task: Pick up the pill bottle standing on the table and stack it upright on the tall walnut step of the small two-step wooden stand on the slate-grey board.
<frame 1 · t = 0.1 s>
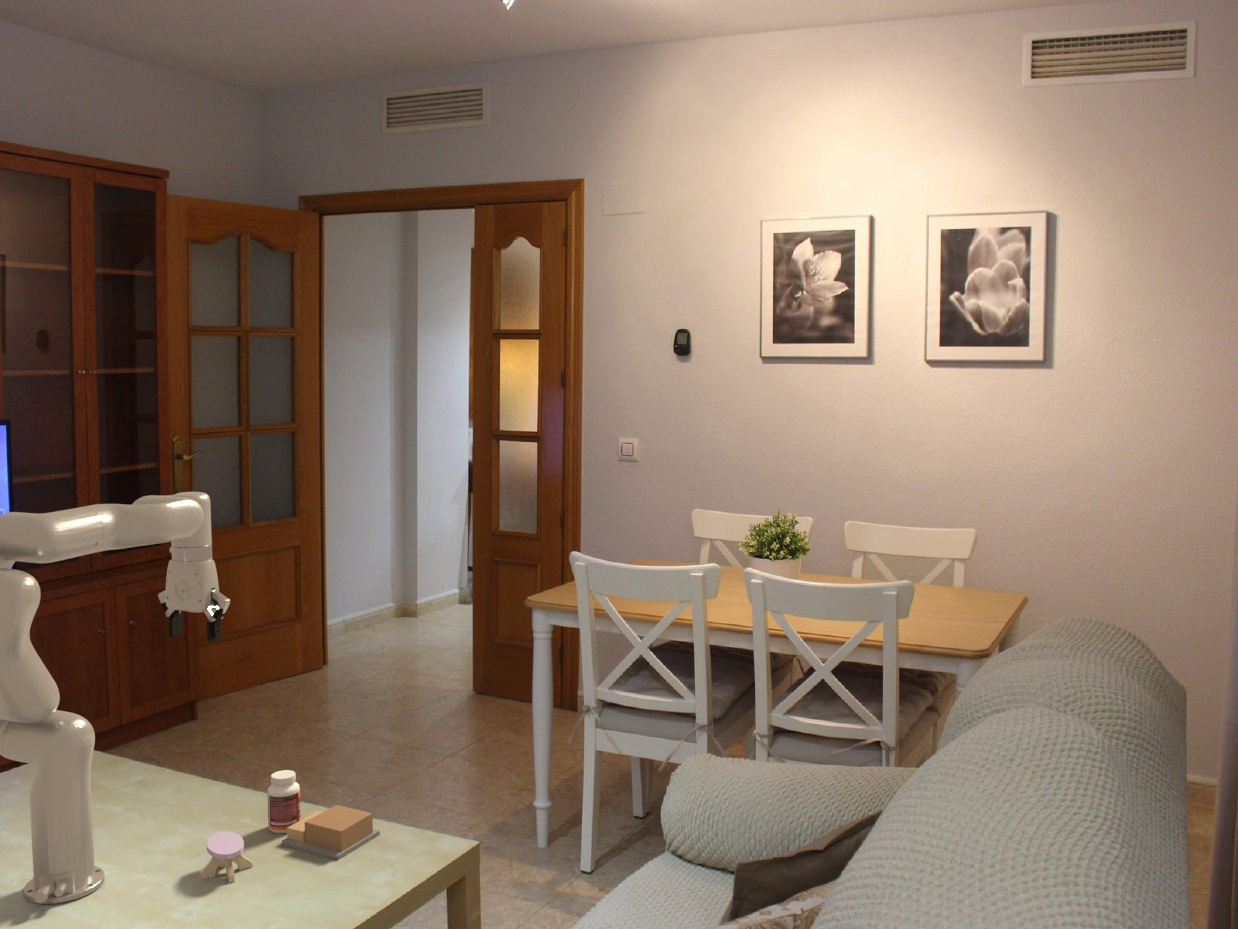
hand: (195, 637, 214), 37 cm above the table, tool pointing down, fingers open, 9 cm apart
pill bottle: (284, 828, 211), on the table
stand: (315, 835, 208), on the table
toy table: (226, 873, 193), on the table
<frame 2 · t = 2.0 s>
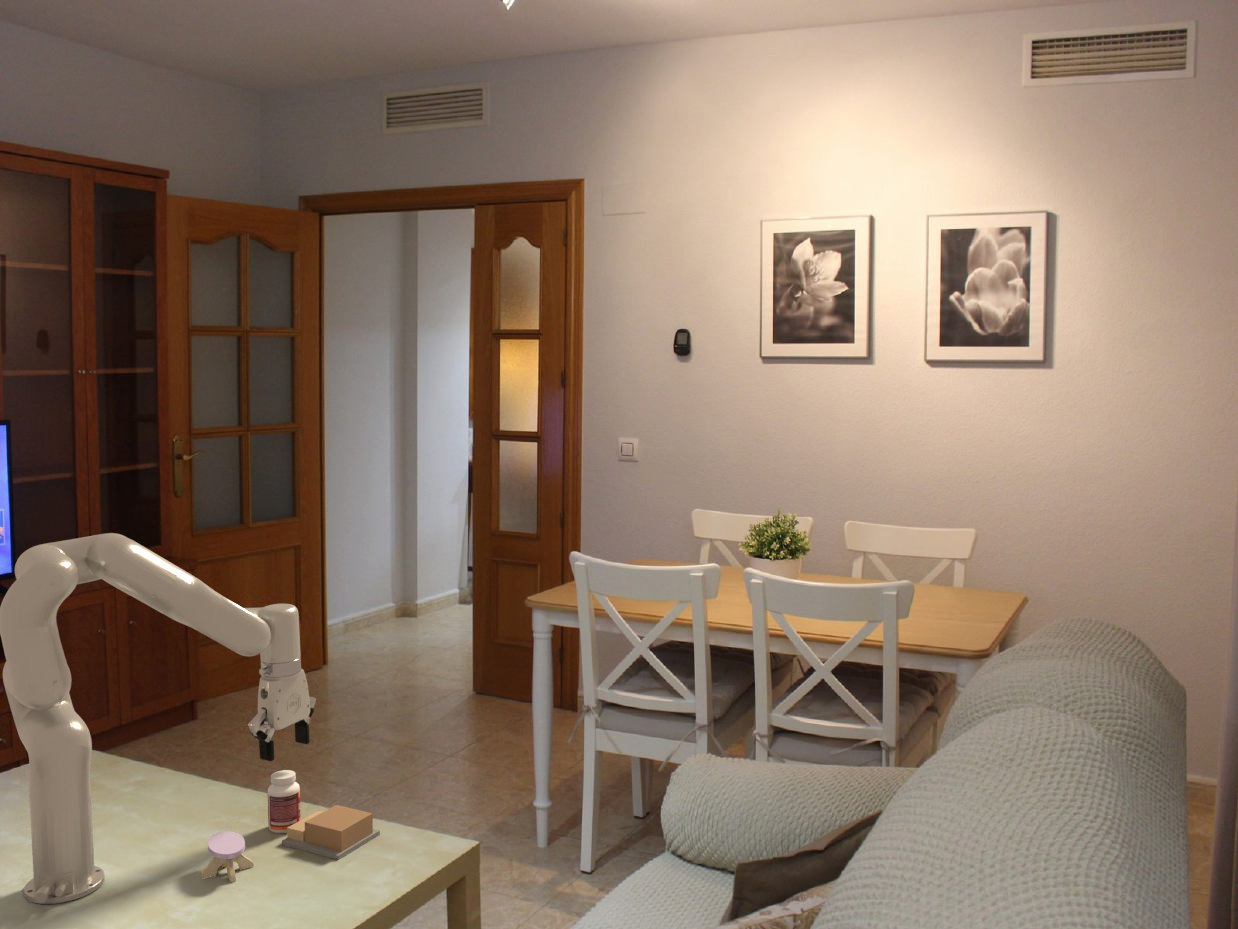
hand: (285, 751, 210), 16 cm above the table, tool pointing down, fingers open, 9 cm apart
nothing on the table moved.
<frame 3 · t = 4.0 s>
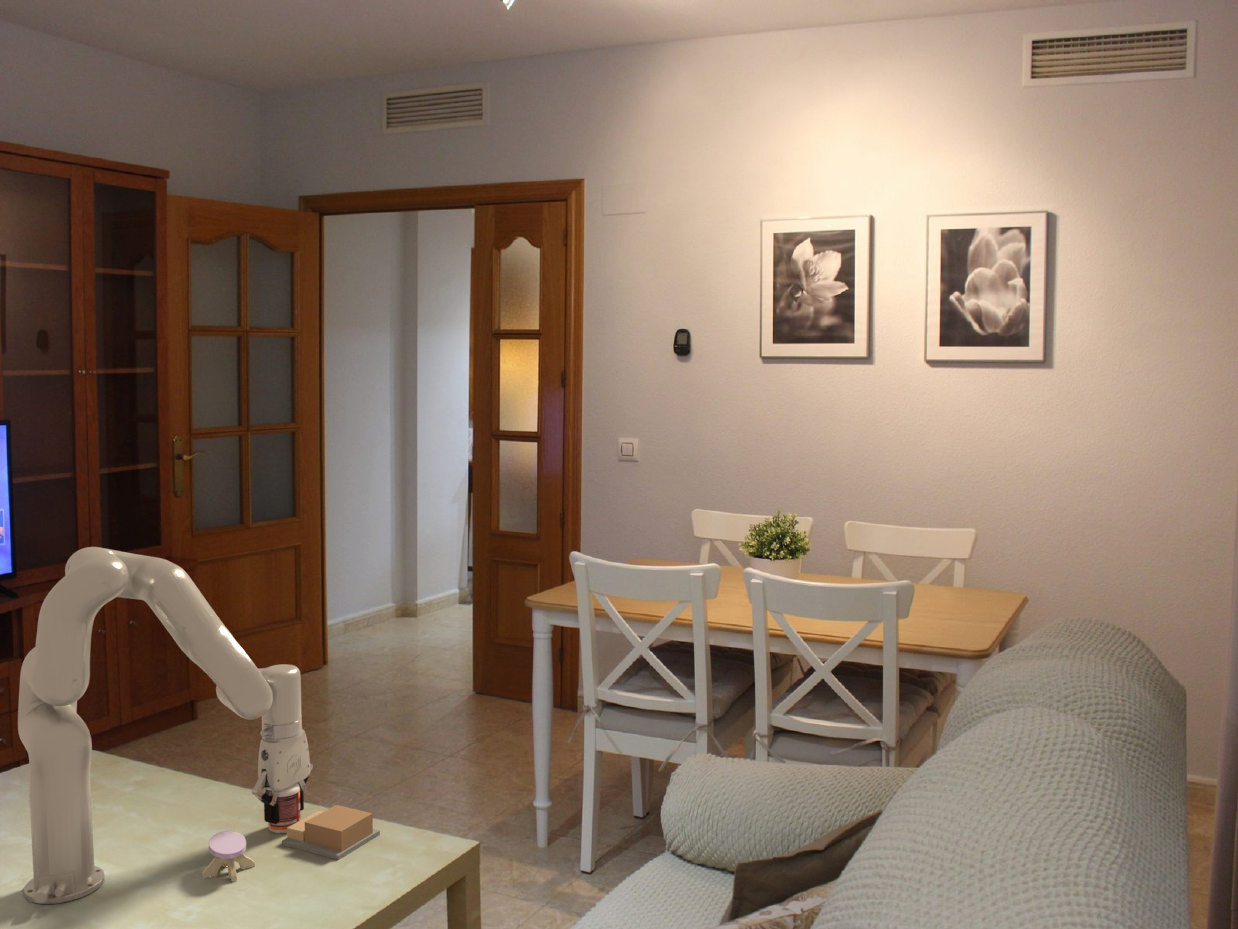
hand: (284, 815, 211), 3 cm above the table, tool pointing down, fingers closed on pill bottle, 6 cm apart
pill bottle: (284, 828, 211), on the table, touching gripper
everything else where it was.
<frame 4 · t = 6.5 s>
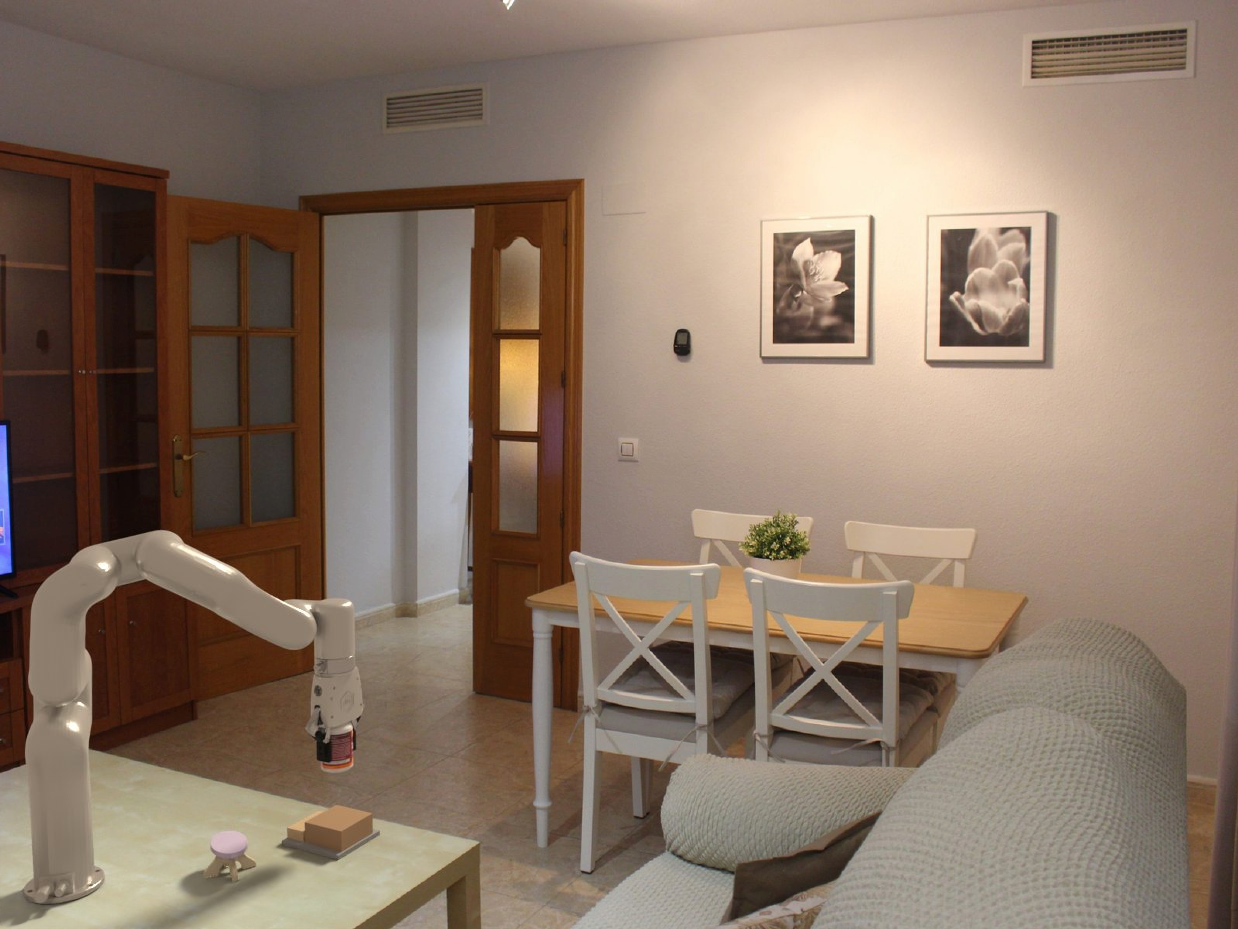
hand: (336, 754, 204), 17 cm above the table, tool pointing down, fingers closed on pill bottle, 6 cm apart
pill bottle: (337, 768, 204), point 15 cm above the table, touching gripper
everything else where it was.
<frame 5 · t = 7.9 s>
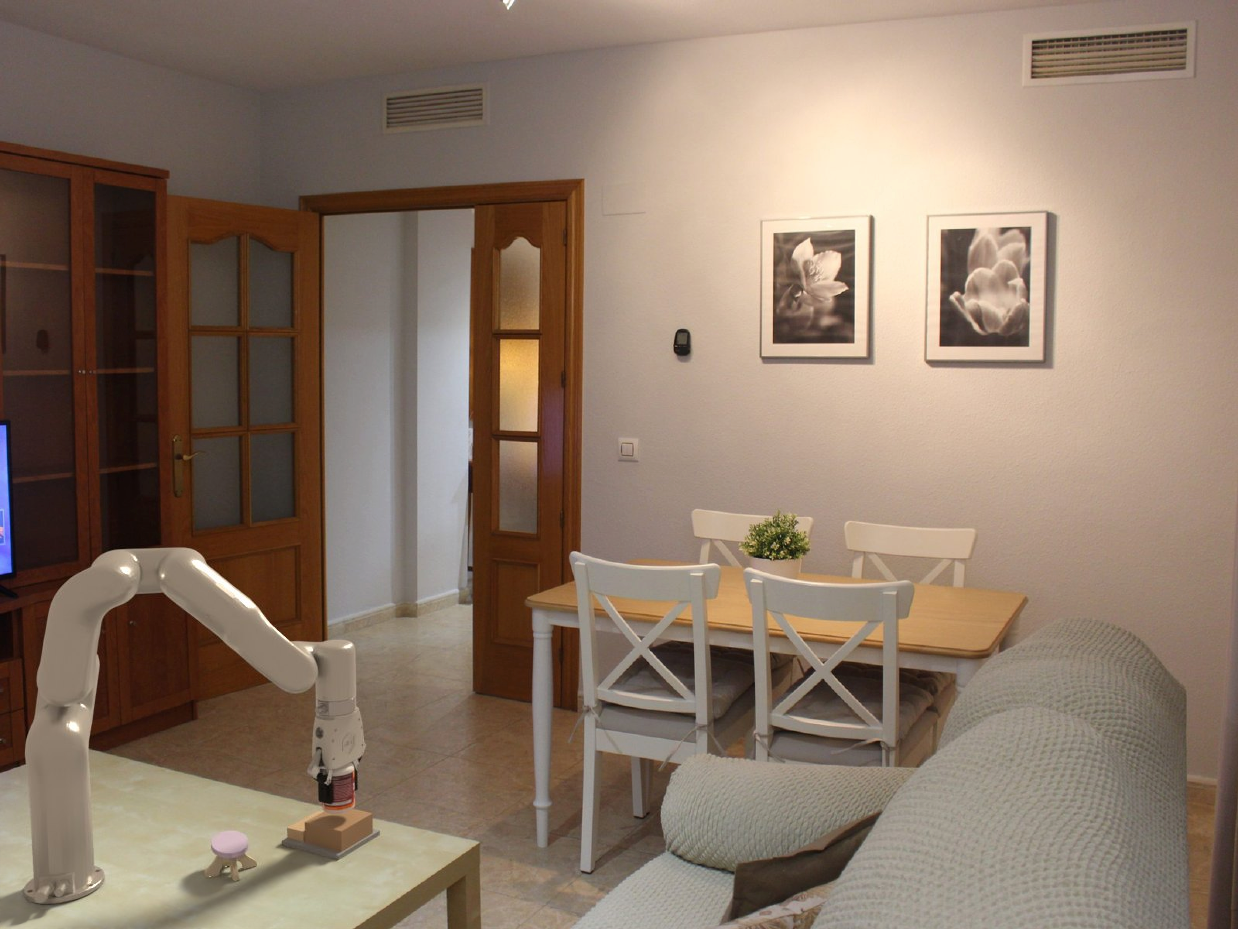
hand: (338, 795, 204), 9 cm above the table, tool pointing down, fingers closed on pill bottle, 6 cm apart
pill bottle: (338, 809, 205), point 7 cm above the table, touching gripper
everything else where it was.
when the fingers open (8 cm above the table, at t = 9.0 s): pill bottle stays where it is, resting on stand.
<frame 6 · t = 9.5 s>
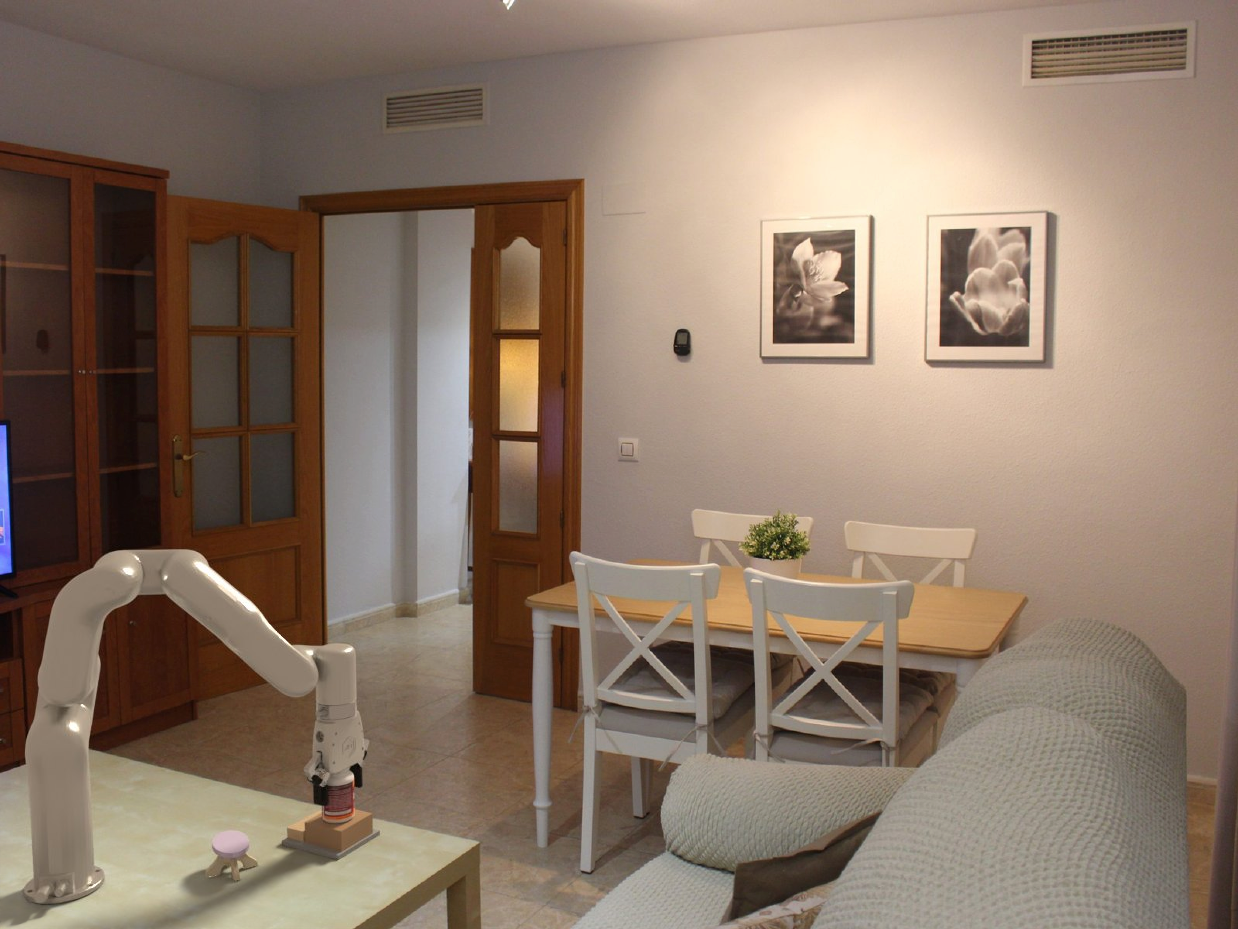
hand: (338, 795, 204), 9 cm above the table, tool pointing down, fingers open, 9 cm apart
pill bottle: (338, 818, 205), point 5 cm above the table, touching stand
everything else where it was.
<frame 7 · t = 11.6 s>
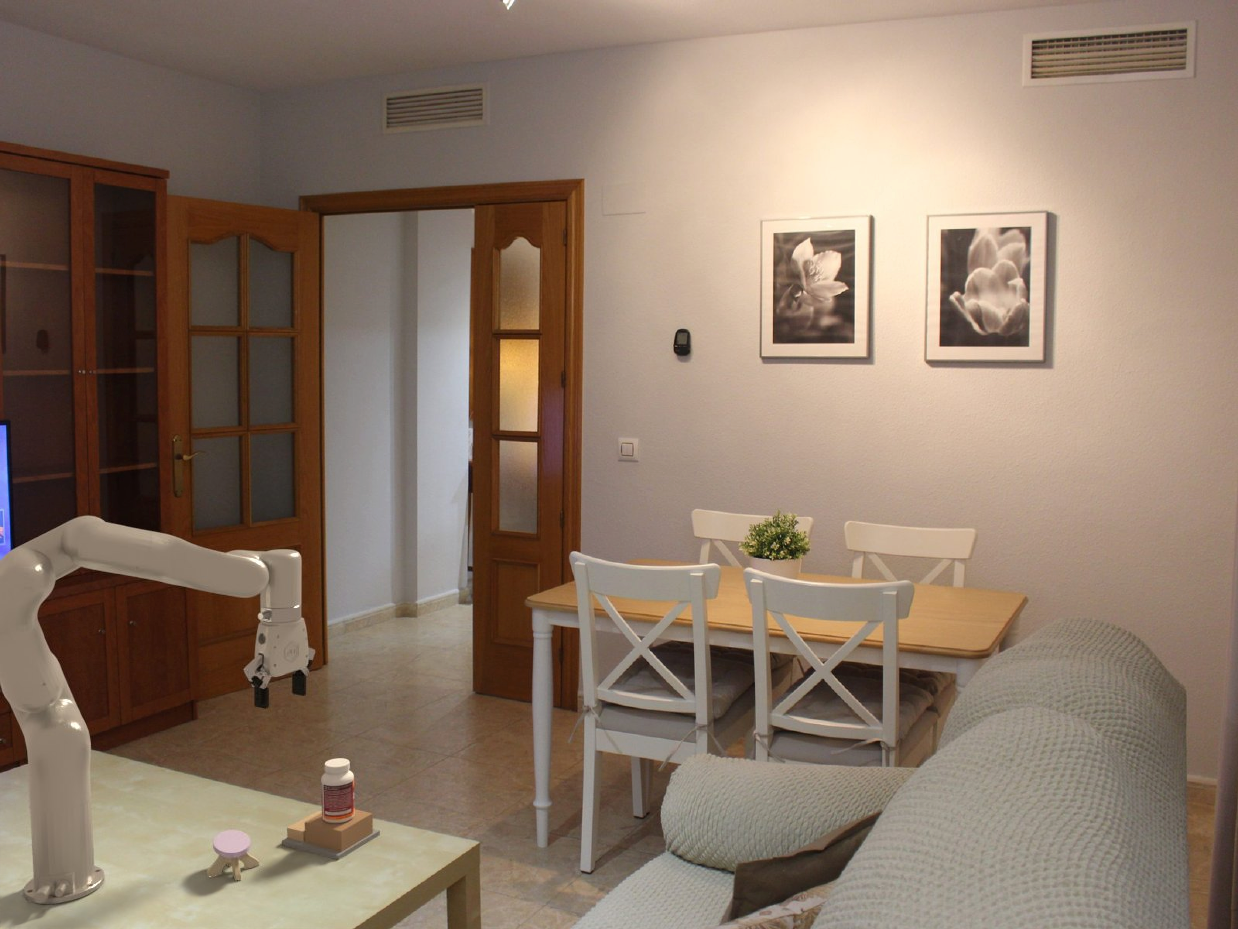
hand: (280, 700, 205), 27 cm above the table, tool pointing down, fingers open, 9 cm apart
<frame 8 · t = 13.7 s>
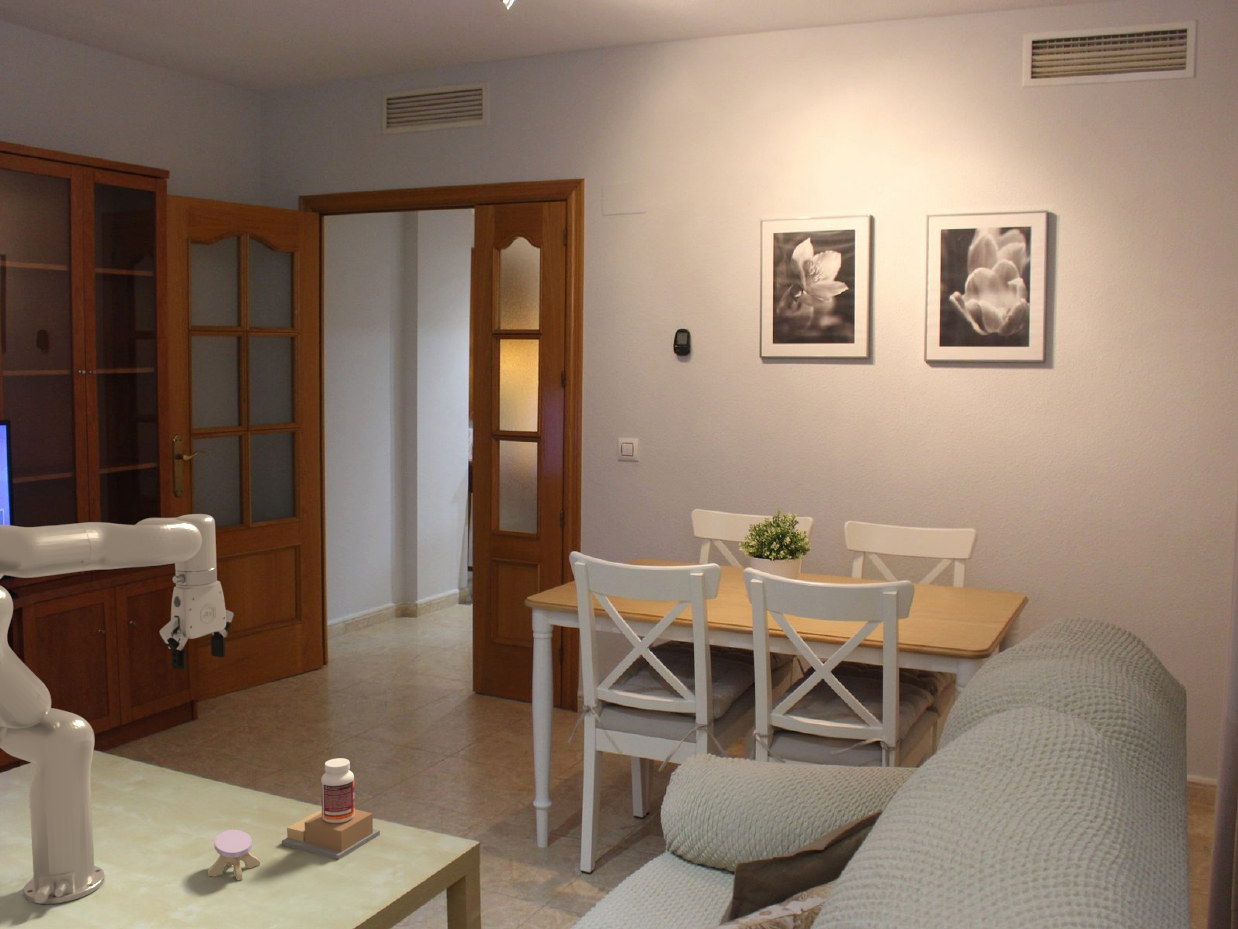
hand: (199, 662, 210), 33 cm above the table, tool pointing down, fingers open, 9 cm apart
at the end: pill bottle inside the target area on the stand (0.1 cm from its centre), point 4.6 cm above the stand's base; pill bottle tilted 0°; the gripper is holding nothing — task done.
